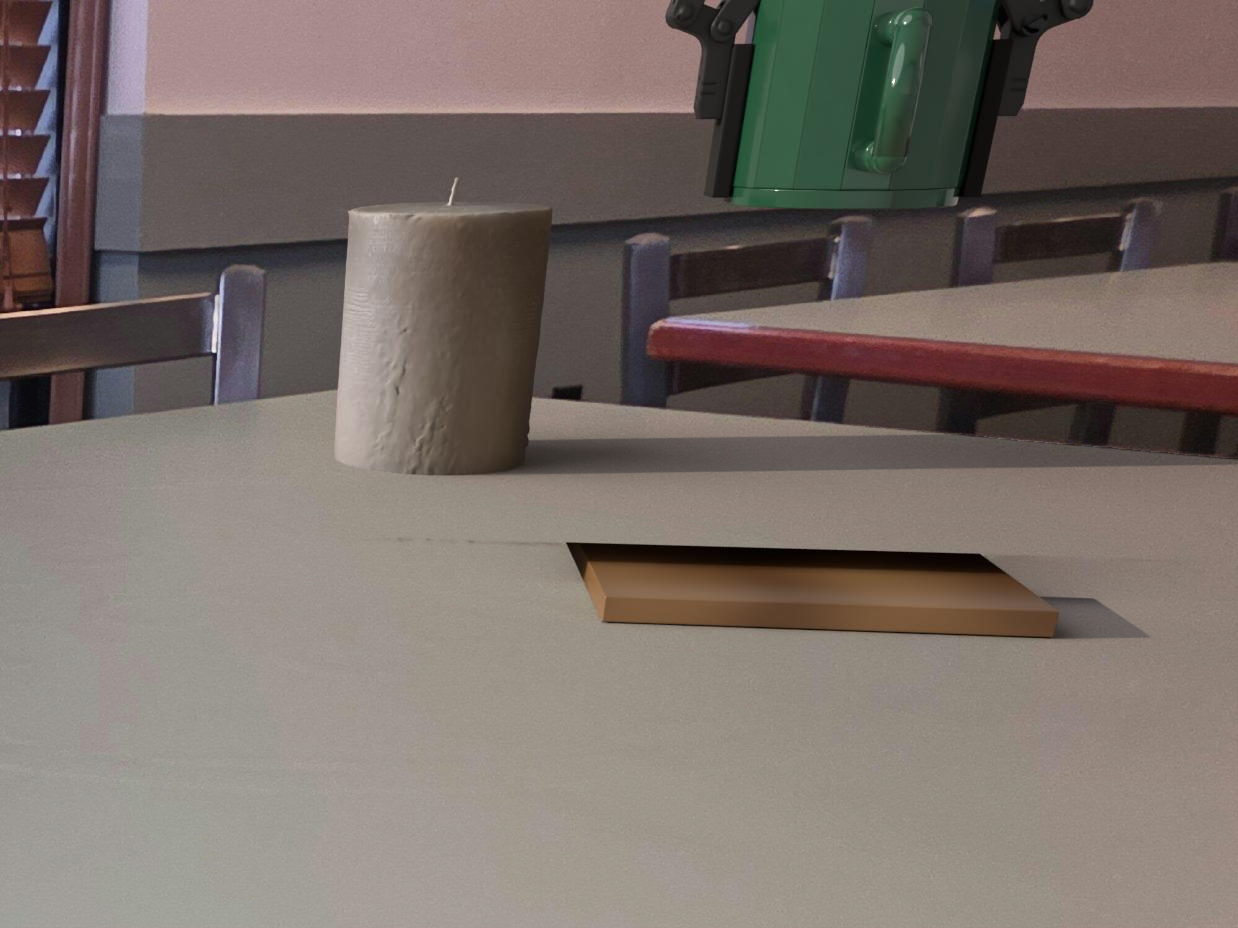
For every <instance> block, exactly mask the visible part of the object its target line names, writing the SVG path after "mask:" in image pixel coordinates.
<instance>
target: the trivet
mask: <svg viewBox="0 0 1238 928" xmlns="http://www.w3.org/2000/svg"><path fill="white" fill-rule="evenodd" d="M565 544H566V546H567V548H568V550H569V552H570V555H571V557H572V560H573V561H574V563H575V565H576V568H577V571H578V572H579V574H580V576H581V579H582V581H583V584H584V585H585V587H586V589H587V592H588V594H589V596H590V598H591V601H592V602H593V605H594V607H595V610H596V611H597V613H598V616H599V618H600V620H601V621H602V622H606V623H607V622H608V623H630V624H631V623H633V624H635V623H636V624H663V625H690V626H716V627H717V626H720V627H745V628H746V627H748V628H777V629H804V630H805V629H806V630H830V631H831V630H835V631H836V630H837V631H861V632H863V631H864V632H890V633H915V634H916V633H922V634H923V633H924V634H943V635H945V634H946V635H947V634H949V635H972V636H973V635H975V636H976V635H977V636H1005V637H1033V638H1034V637H1035V638H1053V637H1054V636H1055V631H1056V628H1057V623H1058V619H1059V616H1060V610H1058V609H1057V608H1056V607H1054V606H1053V605H1051V604H1050V603H1049V602H1047V600H1045V599H1043V598H1042V597H1040V596H1039V595H1037V594H1036V592H1033V591H1032V590H1031V589H1030V588H1028V587H1026V586H1025V584H1023V583H1021V582H1020V581H1018V580H1017V579H1015V578H1014V577H1013V576H1012V575H1010V574H1009V573H1007V572H1006V571H1005V570H1004V569H1002V568H1001V567H999V566H998V565H996V563H994V562H992V561H990V559H988V558H987V557H985V556H984V555H982V554H981V553H973V552H972V553H971V552H941V551H940V552H937V551H936V552H935V551H903V550H902V551H899V550H869V549H868V550H867V549H866V550H865V549H864V550H863V549H832V548H831V549H830V548H827V549H826V548H792V547H791V548H790V547H787V548H786V547H759V546H719V545H718V546H717V545H715V546H714V545H713V546H712V545H686V544H685V545H680V544H647V543H646V544H645V543H612V542H609V543H607V542H575V541H574V542H572V541H568V542H567V541H565Z"/></svg>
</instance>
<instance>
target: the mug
mask: <svg viewBox="0 0 1238 928" xmlns="http://www.w3.org/2000/svg"><path fill="white" fill-rule="evenodd" d="M1001 1H1002V0H760V1H759V3H758V4H757V5H756V7H755V8H754V10H753V11H752V12H751V14H750V15H749V17H748V18H747V25H746V32H745V38H744V39H745V40H744V44H753V47H752V54H751V60H750V66H749V73H748V79H747V86H746V92H745V99H744V105H743V111H742V118H741V124H740V131H739V137H738V143H737V150H736V156H735V163H734V169H733V175H732V182H731V188H730V195H729V198H722V201H721V202H722V204H723V205H727V206H735V207H748V208H766V209H769V208H770V209H791V210H792V209H796V210H797V209H798V210H911V209H912V210H914V209H915V210H917V209H918V210H919V209H939V208H949V207H955V206H957V205H958V202H959V198H960V197H959V193H960V188H961V187H960V186H963V183H964V178H965V174H966V169H967V164H968V159H969V154H970V150H971V145H972V140H973V135H974V130H975V126H976V121H977V116H978V111H979V106H980V102H981V97H982V92H983V87H984V82H985V78H986V73H987V68H988V63H989V58H990V54H991V49H992V44H993V39H994V38H995V35H996V29H997V28H996V27H997V20H998V15H999V10H1000V6H1001Z"/></svg>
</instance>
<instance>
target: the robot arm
mask: <svg viewBox="0 0 1238 928" xmlns="http://www.w3.org/2000/svg"><path fill="white" fill-rule="evenodd" d="M759 1H760V0H720V2H719V3H718V5H717V6H716V7H712V6H710V5H707V4H705V2H706V0H670V2H669V4H668V6H667V9H666V10H665V16H664V18H665V23H666V24H667V26H668V27H669V28H670V29H672V30H677V31H679V32H683V33H685V34H688V35H690V36H692V37H695V38H696V40H698V42H699V44H700V47H701V51H700V59H699V68H698V73H697V80H696V89H695V94H694V99H693V101H694V102H693V106H692V107H693V111H694V115H695V119H696V120H714V125H713V132H712V139H711V145H710V151H709V156H708V157H709V158H708V164H707V171H706V176H705V177H706V178H705V185H704V189H703V190H704V191H703V196H704V197H708V198H713V199H723V198H729V195H730V188H731V182H732V175H733V169H734V163H735V156H736V150H737V143H738V137H739V131H740V124H741V118H742V111H743V105H744V99H745V92H746V86H747V79H748V73H749V66H750V60H751V54H752V47H753V44H745V43H736V37H737V34H738V33H739V31H740V30H741V28H742V27H743V25H744V24H745V22H746V21H748V19H749V15H750V14H751V12H752V11H753V10H754V8H755V7H756V5H757V4H758V3H759ZM1093 6H1094V0H1002V1H1001V6H1000V10H999V15H998V20H997V25H996V27H997V28H998V31H999V33H1000V34H999V38H995V39H993V44H992V49H991V54H990V58H989V63H988V68H987V73H986V78H985V82H984V87H983V92H982V97H981V102H980V106H979V111H978V116H977V121H976V126H975V130H974V135H973V140H972V145H971V150H970V154H969V159H968V164H967V169H966V174H965V178H964V183H963V186H960V187H961V188H960V193H959V198H981V197H982V193H983V187H984V183H985V180H986V173H987V168H988V163H989V159H990V156H991V149H992V145H993V140H994V135H995V131H996V126H997V122H998V118H999V117H1017V116H1018V114H1019V112H1020V111H1021V110H1022V108H1023V106H1024V104H1025V99H1026V95H1027V89H1028V86H1029V82H1030V81H1029V80H1030V77H1031V71H1032V67H1033V63H1034V59H1035V54H1036V53H1035V52H1036V50H1037V49H1036V48H1037V45H1038V42H1039V41H1040V39H1041V37H1042V36H1043V35H1044V34H1045V33H1046V32H1047V31H1049V30H1051V29H1053V28H1056V27H1058V26H1061V25H1063V24H1067V23H1069V22H1072V21H1075V20H1080V19H1082V18H1084V17H1086V16H1087V15H1088V13H1090V11H1091V10H1092V8H1093Z"/></svg>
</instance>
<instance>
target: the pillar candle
mask: <svg viewBox="0 0 1238 928" xmlns="http://www.w3.org/2000/svg"><path fill="white" fill-rule="evenodd" d="M453 182H454V183H453V184H452V185H453V186H452V187H451V194H450V196H449V199H448V200H449V201H431V202H402V203H401V202H400V203H399V202H398V203H390V204H389V203H388V204H387V203H386V204H376V205H369V206H361V207H355V208H353V209H350V210H347V213H348V229H347V250H346V261H345V279H344V293H343V294H344V295H343V309H342V325H341V341H340V354H339V365H338V366H339V367H338V381H337V393H336V394H337V396H336V415H335V430H334V431H335V433H334V453H333V455H334V458H335V460H336V461H337V462H339V463H341V464H343V465H346V466H350V467H354V468H358V469H362V470H367V471H375V472H383V473H392V474H401V475H417V476H418V475H420V476H473V475H486V474H495V473H501V472H506V471H511V470H514V469H516V468H518V467H521V466H522V465H523V464H524V463H525V458H526V452H527V447H528V446H529V441H530V440H529V434H530V429H531V427H530V426H531V425H530V420H531V412H532V403H533V394H534V385H535V373H536V367H537V360H538V359H537V358H538V354H539V353H538V352H539V348H540V346H539V345H540V338H541V326H542V318H543V317H542V316H543V309H544V302H545V291H546V281H547V280H546V279H547V270H548V262H549V254H550V246H551V245H550V243H551V234H552V226H553V225H552V224H553V223H552V222H553V207H552V206H551V205H545V204H539V203H537V204H536V203H524V202H523V203H519V202H504V201H503V202H502V201H455V198H456V195H457V190H458V187H459V185H460V182H461V178H460V177H455V179H454V180H453Z"/></svg>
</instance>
